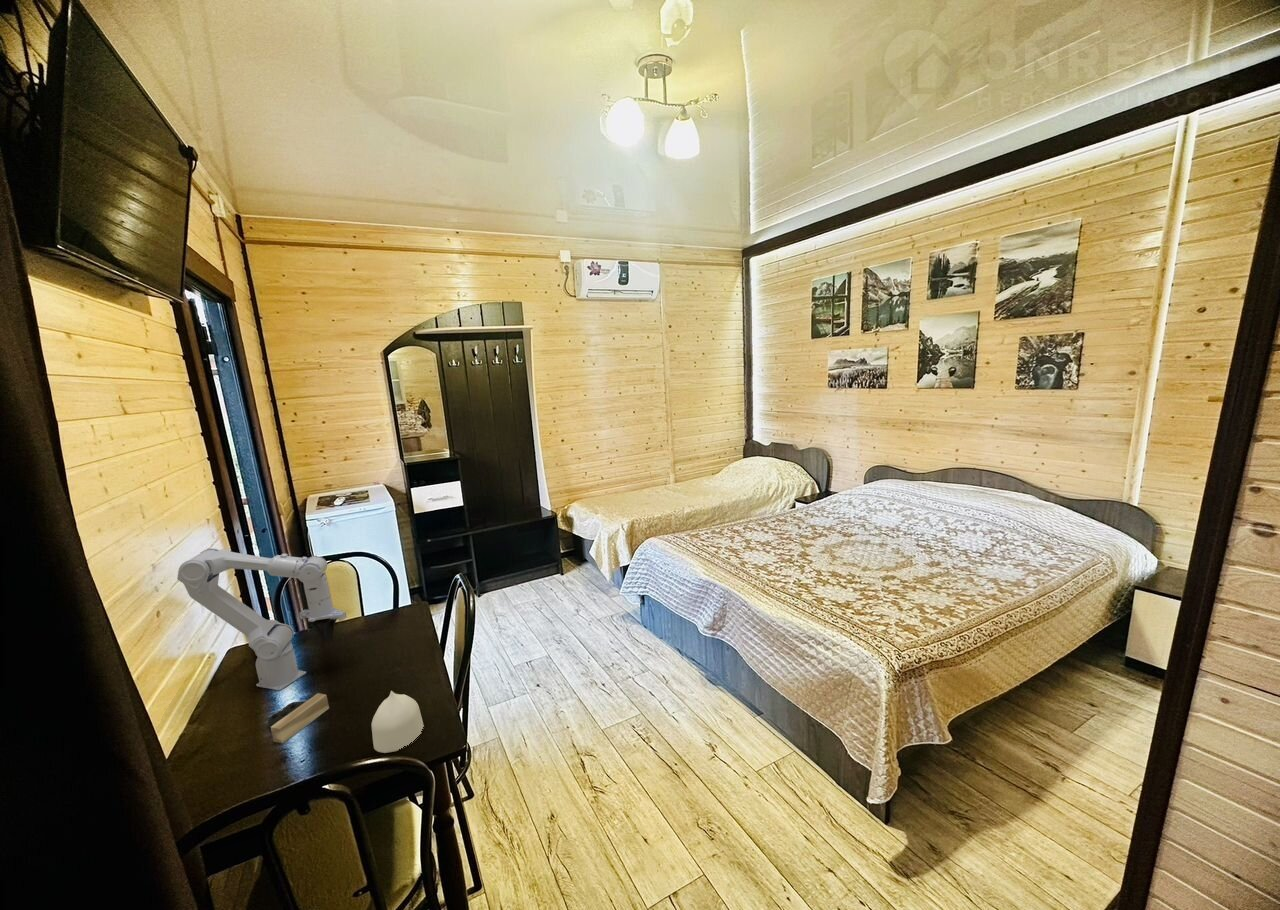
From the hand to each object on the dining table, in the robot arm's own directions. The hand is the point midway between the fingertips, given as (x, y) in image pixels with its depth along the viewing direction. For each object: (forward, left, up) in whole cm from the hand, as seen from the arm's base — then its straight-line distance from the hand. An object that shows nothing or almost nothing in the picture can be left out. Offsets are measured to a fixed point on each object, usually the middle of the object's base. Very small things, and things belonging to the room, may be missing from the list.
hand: (328, 640), depth 136 cm
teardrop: (+41, -16, -10) cm, 45 cm away
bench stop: (+13, -19, -10) cm, 25 cm away
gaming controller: (+8, -19, -10) cm, 23 cm away
